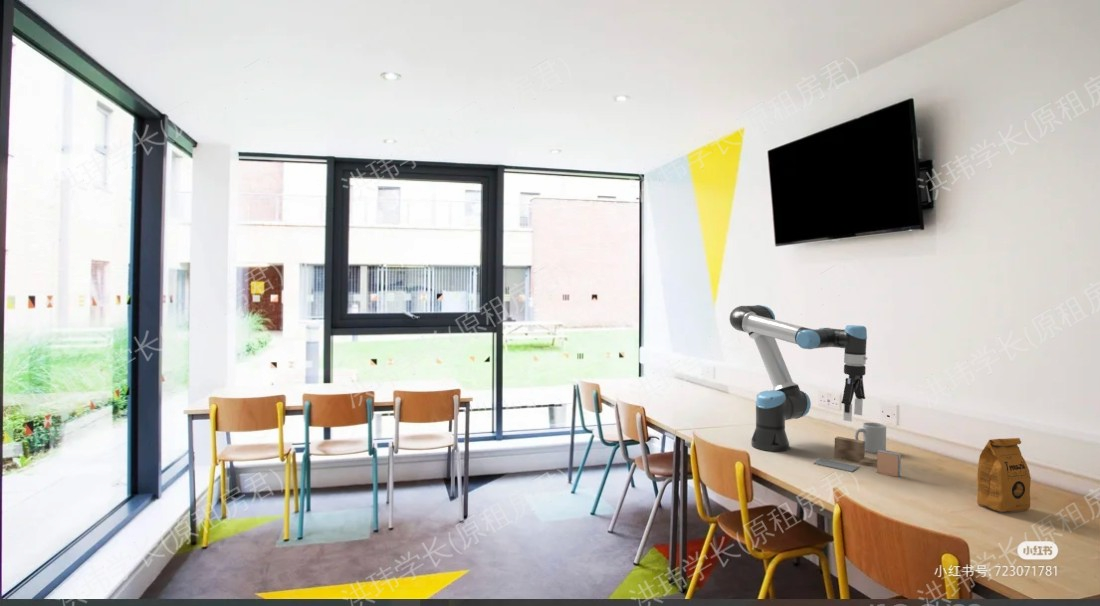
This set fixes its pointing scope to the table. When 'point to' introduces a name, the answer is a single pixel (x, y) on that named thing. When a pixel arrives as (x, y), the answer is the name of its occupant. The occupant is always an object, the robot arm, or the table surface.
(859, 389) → the robot arm
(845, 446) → the stepped wooden block
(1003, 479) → the coffee package
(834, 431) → the table surface
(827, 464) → the pad
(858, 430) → the mug
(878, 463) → the tile
